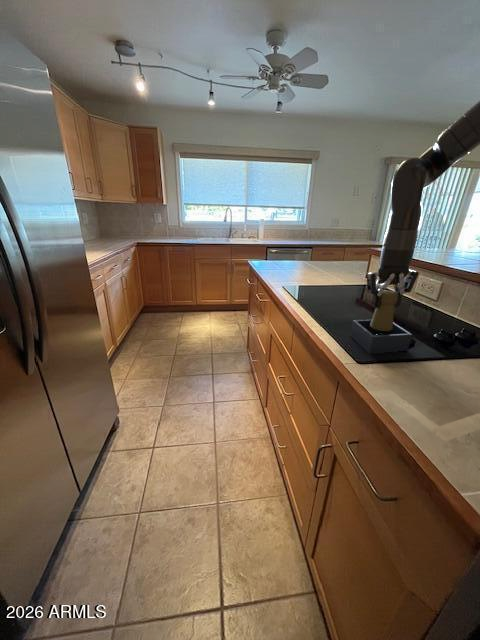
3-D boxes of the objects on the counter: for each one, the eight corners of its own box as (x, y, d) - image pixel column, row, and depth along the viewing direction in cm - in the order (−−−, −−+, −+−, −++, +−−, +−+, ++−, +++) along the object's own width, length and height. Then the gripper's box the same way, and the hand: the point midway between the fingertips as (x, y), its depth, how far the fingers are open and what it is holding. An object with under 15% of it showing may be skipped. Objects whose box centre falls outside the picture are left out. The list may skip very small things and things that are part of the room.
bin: (383, 333, 86) (387, 318, 84) (407, 351, 76) (412, 334, 73) (350, 336, 85) (352, 320, 83) (369, 354, 75) (373, 337, 73)
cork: (365, 324, 80) (371, 289, 76) (381, 321, 82) (388, 287, 77) (380, 332, 75) (388, 295, 70) (397, 329, 76) (406, 293, 72)
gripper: (380, 249, 65) (368, 313, 72) (434, 247, 66) (417, 310, 73) (364, 245, 72) (355, 303, 78) (413, 243, 73) (400, 301, 80)
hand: (385, 306), depth 76 cm, fingers closed on cork, 5 cm apart
